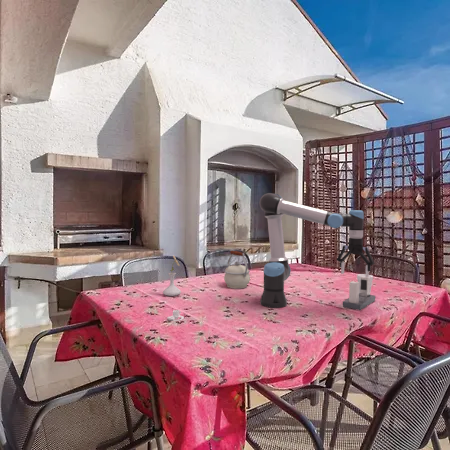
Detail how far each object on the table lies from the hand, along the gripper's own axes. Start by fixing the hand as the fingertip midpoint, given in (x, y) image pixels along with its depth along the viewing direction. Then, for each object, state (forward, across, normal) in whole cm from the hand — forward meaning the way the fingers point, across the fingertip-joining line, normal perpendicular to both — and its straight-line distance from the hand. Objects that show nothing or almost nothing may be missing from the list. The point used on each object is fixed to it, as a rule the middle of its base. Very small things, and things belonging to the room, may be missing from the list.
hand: (354, 275), depth 189 cm
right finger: (+17, 0, 0) cm, 17 cm away
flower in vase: (+19, -97, -51) cm, 111 cm away
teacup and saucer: (+19, -63, -82) cm, 105 cm away
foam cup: (+18, -4, +30) cm, 35 cm away
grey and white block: (+18, 0, +9) cm, 20 cm away
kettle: (+19, -82, -5) cm, 84 cm away
